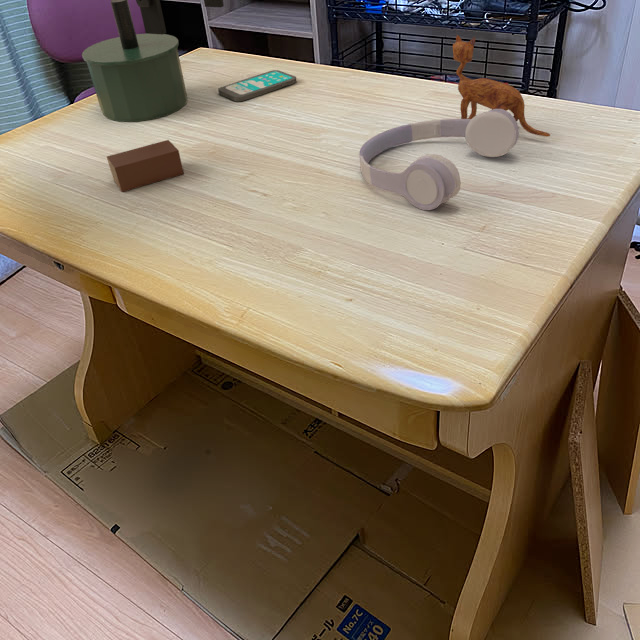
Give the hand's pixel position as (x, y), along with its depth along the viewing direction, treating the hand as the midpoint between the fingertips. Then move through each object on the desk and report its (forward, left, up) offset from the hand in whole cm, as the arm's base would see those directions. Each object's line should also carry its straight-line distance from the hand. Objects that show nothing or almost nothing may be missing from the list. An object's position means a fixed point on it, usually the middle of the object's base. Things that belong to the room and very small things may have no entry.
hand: (186, 19), depth 84 cm
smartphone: (+22, +31, -22) cm, 44 cm away
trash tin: (0, +37, -22) cm, 43 cm away
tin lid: (0, +37, -12) cm, 39 cm away
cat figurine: (+44, -15, -23) cm, 51 cm away
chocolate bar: (-9, +5, -22) cm, 25 cm away
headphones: (+27, -19, -23) cm, 40 cm away
